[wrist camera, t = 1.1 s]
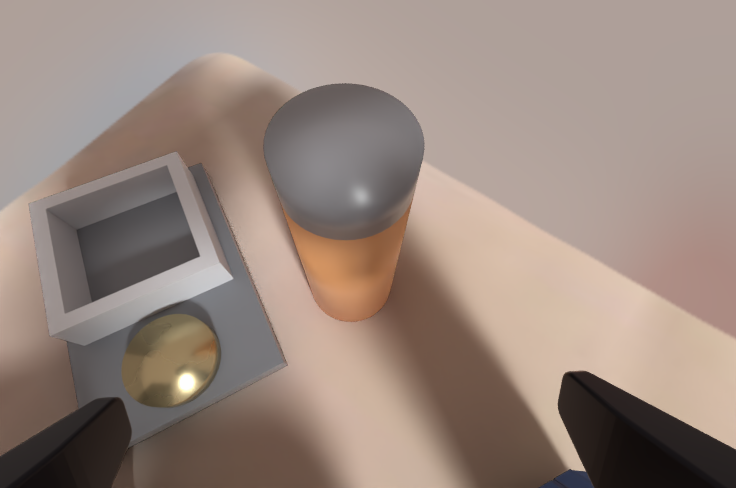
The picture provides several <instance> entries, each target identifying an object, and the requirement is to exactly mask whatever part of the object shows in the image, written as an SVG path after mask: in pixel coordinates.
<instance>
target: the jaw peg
mask: <svg viewBox="0 0 736 488" xmlns="http://www.w3.org/2000/svg"><path fill="white" fill-rule="evenodd" d="M263 148H264V156H265V160H266V163H267V166H268V169H269V172H270V175H271V178H272V181H273V183H274V186H275V189H276V192H277V195H278V197H279V200H280V203H281V206H282V209H283V212H284V214H285V217H286V220H287V223H288V226H289V229H290V231H291V234H292V237H293V240H294V243H295V246H296V248H297V251H298V254H299V257H300V260H301V262H302V265H303V268H304V271H305V274H306V277H307V279H308V282H309V285H310V288H311V291H312V294H313V296H314V299H315V301H316V303H317V304H318V306H319V307H320V308H321V309H322V310H323V311H324V312H325V313H326V314H327V315H329V316H331V317H333V318H335V319H337V320H341V321H346V322H355V321H361V320H364V319H367V318H369V317H371V316H373V315H374V314H376V313H377V312H378V311H379V310H380V309H381V308H382V307H383V306H384V304H385V303H386V301H387V299H388V296H389V293H390V290H391V285H392V281H393V277H394V273H395V269H396V265H397V261H398V257H399V253H400V249H401V245H402V241H403V237H404V233H405V229H406V225H407V220H408V216H409V212H410V208H411V204H412V200H413V196H414V192H415V188H416V184H417V180H418V176H419V172H420V168H421V164H422V160H423V154H424V137H423V132H422V129H421V127H420V125H419V122H418V121H417V119H416V117H415V116H414V114H413V113H412V112H411V111H410V110H409V109H408V108H407V107H406V105H404V104H403V103H402V102H401V101H399V100H398V99H396V98H395V97H393V96H391V95H390V94H388V93H386V92H384V91H381V90H379V89H376V88H372V87H368V86H364V85H358V84H346V83H345V84H331V85H325V86H321V87H316V88H313V89H310V90H308V91H305V92H303V93H301V94H299V95H297V96H295V97H294V98H292V99H291V100H289V101H288V102H287V103H285V104H284V105H283V106H282V107H281V108H280V109H279V110H278V111H277V112H276V114H275V115H274V116H273V118H272V119H271V121H270V123H269V125H268V127H267V130H266V133H265V137H264V147H263Z"/></svg>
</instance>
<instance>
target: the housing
mask: <svg viewBox="0 0 736 488" xmlns="http://www.w3.org/2000/svg"><path fill="white" fill-rule="evenodd" d="M29 210H30V216H31V223H32V229H33V235H34V241H35V248H36V254H37V260H38V267H39V273H40V279H41V285H42V292H43V298H44V304H45V310H46V317H47V323H48V329H49V336H51V337H54V338H58V339H62V340H65V341H67V346H68V352H69V357H70V363H71V368H72V374H73V380H74V385H75V391H76V397H77V402H78V408H81V407H83V406H84V405H86V404H88V403H89V402H91V401H93V400H94V399H97V398H101V397H120V398H121V399H122V400H123V402H124V404H125V408H126V411H127V414H128V417H129V420H130V424H131V427H132V437H131V441H130V444H129V446H128V448H130V447H132V446H134V445H136V444H138V443H139V442H141V441H143V440H145V439H147V438H149V437H151V436H153V435H155V434H157V433H159V432H161V431H162V430H164V429H166V428H168V427H170V426H172V425H174V424H176V423H178V422H180V421H182V420H184V419H185V418H187V417H189V416H191V415H193V414H195V413H197V412H199V411H201V410H203V409H205V408H207V407H209V406H210V405H212V404H214V403H216V402H218V401H220V400H222V399H224V398H226V397H228V396H230V395H232V394H233V393H235V392H237V391H239V390H241V389H243V388H245V387H247V386H249V385H251V384H253V383H255V382H256V381H258V380H260V379H262V378H264V377H266V376H268V375H270V374H272V373H274V372H276V371H278V370H280V369H281V368H283V367H285V366H287V363H286V360H285V358H284V355H283V353H282V351H281V348H280V346H279V343H278V341H277V339H276V336H275V334H274V331H273V329H272V327H271V324H270V322H269V319H268V317H267V315H266V312H265V310H264V308H263V305H262V303H261V300H260V298H259V296H258V293H257V291H256V288H255V286H254V284H253V281H252V279H251V276H250V274H249V272H248V269H247V267H246V264H245V262H244V260H243V257H242V255H241V252H240V250H239V248H238V245H237V243H236V240H235V238H234V236H233V233H232V231H231V228H230V226H229V224H228V221H227V219H226V217H225V214H224V212H223V209H222V207H221V205H220V202H219V200H218V197H217V195H216V193H215V190H214V188H213V185H212V183H211V181H210V178H209V176H208V173H207V172H206V170H205V168H204V167H203V165H202V163H199V164H197V165H194V166H191V167H187V166H186V164H185V163H184V161H183V160H182V158H181V157H180V155H179V154H178V152H177V151H176V152H173V153H170V154H167V155H164V156H161V157H159V158H156V159H153V160H150V161H147V162H145V163H142V164H139V165H136V166H133V167H130V168H128V169H125V170H122V171H119V172H116V173H114V174H111V175H108V176H105V177H102V178H99V179H97V180H94V181H91V182H88V183H85V184H83V185H80V186H77V187H74V188H71V189H68V190H66V191H63V192H60V193H57V194H54V195H51V196H49V197H46V198H43V199H40V200H37V201H35V202H32V203H29ZM128 448H127V449H128Z"/></svg>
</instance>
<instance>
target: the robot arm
mask: <svg viewBox="0 0 736 488" xmlns="http://www.w3.org/2000/svg"><path fill="white" fill-rule="evenodd" d="M558 410H559V414H560V416H561V419H562V421H563V423H564V425H565V427H566V429H567V431H568V434H569V436H570V438H571V440H572V442H573V444H574V447H575V449H576V451H577V453H578V455H579V457H580V459H581V462H582V464H583V466H584V468H585V470H586V472H587V475H588V477H589V479H590V481H591V483H592V485H593V487H594V488H736V449H734V448H732V447H730V446H728V445H726V444H724V443H722V442H720V441H719V440H717V439H715V438H713V437H711V436H709V435H707V434H705V433H703V432H701V431H700V430H698V429H696V428H694V427H692V426H690V425H688V424H686V423H684V422H682V421H681V420H679V419H677V418H675V417H673V416H671V415H669V414H667V413H665V412H663V411H662V410H660V409H658V408H656V407H654V406H652V405H650V404H648V403H646V402H645V401H643V400H641V399H639V398H637V397H635V396H633V395H631V394H629V393H627V392H626V391H624V390H622V389H620V388H618V387H616V386H614V385H612V384H610V383H608V382H607V381H605V380H603V379H601V378H599V377H597V376H595V375H593V374H591V373H589V372H587V371H569V372H566V373H565V374H564V375H563V378H562V384H561V389H560V394H559V399H558ZM131 437H132V427H131V424H130V420H129V417H128V414H127V411H126V408H125V404H124V402H123V400H122V399H121V398H120V397H101V398H97V399H94V400H93V401H91V402H89V403H88V404H86V405H84V406H83V407H81V408H79V409H78V410H76V411H74V412H73V413H71V414H69V415H68V416H66V417H64V418H63V419H61V420H59V421H58V422H56V423H54V424H53V425H51V426H49V427H48V428H46V429H45V430H43V431H41V432H40V433H38V434H36V435H35V436H33V437H31V438H30V439H28V440H26V441H25V442H23V443H21V444H20V445H18V446H16V447H15V448H13V449H11V450H10V451H8V452H6V453H5V454H3V455H2V456H0V488H111V487H112V484H113V482H114V480H115V477H116V475H117V472H118V470H119V468H120V465H121V463H122V460H123V458H124V456H125V453H126V451H127V448H128V446H129V444H130V441H131Z"/></svg>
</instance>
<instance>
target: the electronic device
mask: <svg viewBox="0 0 736 488" xmlns="http://www.w3.org/2000/svg"><path fill="white" fill-rule="evenodd" d="M539 488H594V487H593V485H592V483H591V481H590V479H589V477H588V475H587V472H584V471H575V470H571V469H569V470H568V471H566V472H564V473H563V474H561V475H559V476H558V477H556V478H554V480H553V481H552V480H551V481H549V482H547V483H546V484H544V485H542V486H541V487H539Z"/></svg>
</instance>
